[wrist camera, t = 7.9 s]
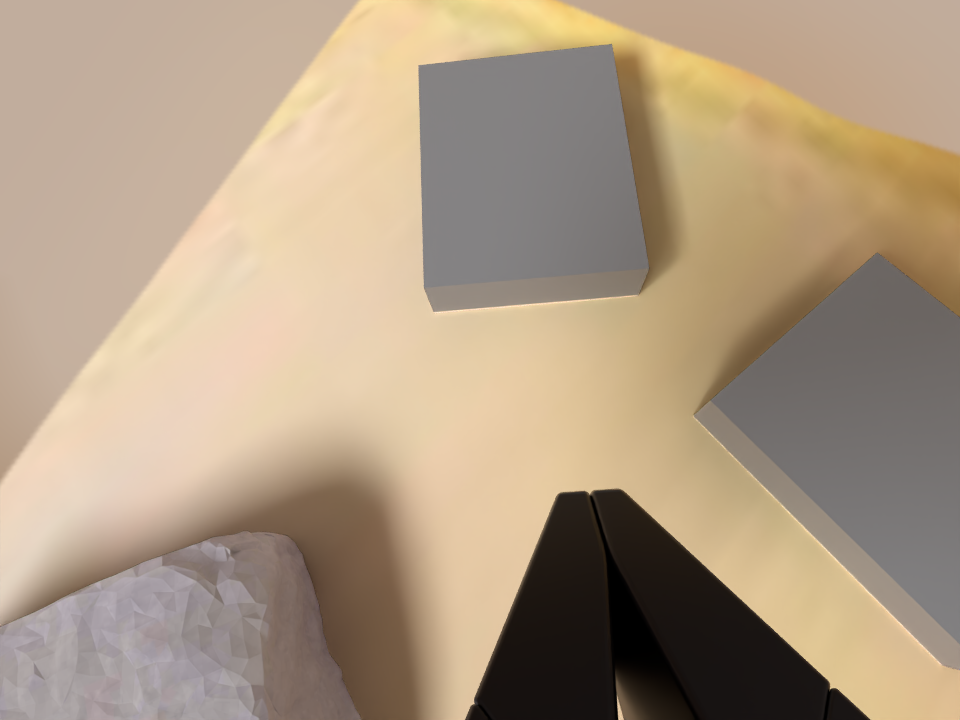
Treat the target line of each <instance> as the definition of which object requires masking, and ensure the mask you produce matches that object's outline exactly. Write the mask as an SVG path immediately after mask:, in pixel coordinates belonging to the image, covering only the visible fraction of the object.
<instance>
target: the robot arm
mask: <svg viewBox="0 0 960 720" xmlns="http://www.w3.org/2000/svg"><path fill="white" fill-rule="evenodd" d="M617 696H618V700H619V703H620V707H621V710H622V714H623V718H624V720H870V719H869V718H868V717H867V716H866V715H865V714H864V713H863V712H862V711H860V710H859V709H858V708H857V707H856V706H855V705H854V704H853V703H852V702H851V701H850V700H849V699H848V698H846V697H845V696H844V695H843V694H842V693H841V692H840V691H839V690H838V689H836V688H832V689H830V683H829V681H828V680H827V679H826V678H825V677H823V676H822V675H821V674H820V673H819V672H818V671H817V670H816V669H815V668H814V667H813V666H812V665H811V664H809V663H808V662H807V661H806V660H805V659H804V658H803V657H802V656H801V655H800V654H799V653H798V652H797V651H795V650H794V649H793V648H792V647H791V646H790V645H789V644H788V643H787V642H786V641H785V640H784V639H783V638H781V637H780V636H779V635H778V634H777V633H776V632H775V631H774V630H773V629H772V628H771V627H770V626H769V625H767V624H766V623H765V622H764V621H763V620H762V619H761V618H760V617H759V616H758V615H757V614H756V613H755V612H754V611H752V610H751V609H750V608H749V607H748V606H747V605H746V604H745V603H744V602H743V601H742V600H741V599H740V598H738V597H737V596H736V595H735V594H734V593H733V592H732V591H731V590H730V589H729V588H728V587H727V586H726V585H724V584H723V583H722V582H721V581H720V580H719V579H718V578H717V577H716V576H715V575H714V574H713V573H712V572H710V571H709V570H708V569H707V568H706V567H705V566H704V565H703V564H702V563H701V562H700V561H699V560H698V559H696V558H695V557H694V556H693V555H692V554H691V553H690V552H689V551H688V550H687V549H686V548H685V547H684V546H683V545H681V544H680V543H679V542H678V541H677V540H676V539H675V538H674V537H673V536H672V535H671V534H670V533H669V532H667V531H666V530H665V529H664V528H663V527H662V526H661V525H660V524H659V523H658V522H657V521H656V520H655V519H653V518H652V517H651V516H650V515H649V514H648V513H647V512H646V511H645V510H644V509H643V508H642V507H641V506H639V505H638V504H637V503H636V502H635V501H634V500H633V499H632V498H631V497H630V496H629V495H628V494H627V493H625V492H624V491H623V490H621V489H605V490H594V491H592V492H591V494H590V495H589V493H588V492H586V491H575V492H562V493H559V494H558V495H557V496H556V498H555V501H554V503H553V506H552V508H551V511H550V513H549V516H548V518H547V520H546V523H545V525H544V528H543V530H542V533H541V535H540V538H539V540H538V543H537V545H536V548H535V550H534V553H533V555H532V557H531V560H530V562H529V565H528V567H527V570H526V572H525V575H524V577H523V580H522V582H521V585H520V587H519V589H518V592H517V594H516V597H515V599H514V602H513V604H512V607H511V609H510V612H509V614H508V617H507V619H506V622H505V624H504V626H503V629H502V631H501V634H500V636H499V639H498V641H497V644H496V646H495V649H494V651H493V654H492V656H491V658H490V661H489V663H488V666H487V668H486V671H485V673H484V676H483V678H482V681H481V683H480V686H479V688H478V691H477V693H476V695H475V698H474V703H475V704H473V705H472V706H471V707H470V709H469V712H468V714H467V717H466V719H465V720H618V709H617Z"/></svg>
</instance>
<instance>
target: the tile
mask: <svg viewBox="0 0 960 720" xmlns="http://www.w3.org/2000/svg"><path fill="white" fill-rule="evenodd" d="M419 105H420V146H421V186H422V227H423V268H424V289H425V292H426V294H427V297H428V299H429V302H430V304H431V307H432V309H433V312H434V313H442V312H454V311H466V310H478V309H490V308H502V307H513V306H525V305H537V304H549V303H561V302H572V301H584V300H596V299H608V298H620V297H632V296H638V295H639V293H640V290H641V288H642V285H643V283H644V280H645V278H646V276H647V273H648V271H649V263H648V257H647V251H646V245H645V239H644V233H643V227H642V221H641V215H640V209H639V203H638V197H637V191H636V185H635V179H634V173H633V167H632V161H631V155H630V149H629V143H628V137H627V131H626V125H625V119H624V113H623V107H622V101H621V95H620V89H619V83H618V77H617V71H616V65H615V59H614V53H613V47H612V44H608V45H599V46H590V47H581V48H572V49H563V50H554V51H545V52H536V53H527V54H518V55H509V56H500V57H490V58H481V59H472V60H463V61H454V62H445V63H436V64H427V65H419Z"/></svg>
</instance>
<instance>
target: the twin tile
mask: <svg viewBox="0 0 960 720" xmlns="http://www.w3.org/2000/svg"><path fill="white" fill-rule="evenodd" d="M693 417H694V418H695V419H696V420H697V421H698V422H699V423H700V424H701V425H702V426H703V427H704V428H705V429H706V430H707V431H708V432H709V433H710V434H711V435H712V436H713V437H714V438H715V439H716V440H717V441H718V442H719V443H720V444H721V445H722V446H723V447H724V448H725V449H726V450H727V451H728V452H729V453H730V454H731V455H732V456H733V457H734V458H735V459H736V460H737V461H738V462H739V463H740V464H741V465H742V466H743V467H744V468H745V469H746V470H747V471H748V472H749V473H750V474H751V475H752V476H753V477H754V478H755V479H756V480H757V481H758V482H759V483H760V484H761V485H762V486H763V487H764V488H765V489H766V490H767V491H768V492H769V493H770V494H771V495H772V496H773V497H774V498H775V499H776V500H777V501H778V502H779V503H780V504H781V505H782V506H783V507H784V508H785V509H786V510H787V511H788V512H789V513H790V514H791V515H792V516H793V517H794V518H795V519H796V520H797V521H798V522H799V523H800V524H801V525H802V526H803V527H804V528H805V529H806V530H807V531H808V532H809V533H810V534H811V535H812V536H813V537H814V538H815V539H816V540H817V541H818V542H819V543H820V544H821V545H822V546H823V547H824V548H825V549H826V550H827V551H828V552H829V553H830V554H831V555H832V556H833V557H834V558H835V559H836V560H837V561H838V562H839V563H840V564H841V565H842V566H843V567H844V568H845V569H846V570H847V571H848V572H849V573H850V574H851V575H852V576H853V577H854V578H855V579H856V580H857V581H858V582H859V583H860V584H861V585H862V586H863V587H864V588H865V589H866V590H867V591H868V592H869V593H870V594H871V595H872V596H873V597H874V598H875V599H876V600H877V601H878V602H879V603H880V604H881V605H882V606H883V607H884V608H885V609H886V610H887V611H888V612H889V613H890V614H891V615H892V616H893V617H894V618H895V619H896V620H897V621H898V622H899V623H900V624H901V625H902V626H903V627H904V628H905V629H906V630H907V632H908V633H909V634H910V635H911V636H912V637H913V638H914V639H915V640H916V641H917V642H918V643H919V644H920V645H921V646H922V647H923V648H924V649H925V650H926V651H927V652H928V653H929V654H930V655H931V656H932V657H933V658H934V659H935V660H936V661H937V662H938V663H939V664H940V665H942V666H946V667H950V668H953V669H957V670H960V317H959V316H957V315H956V314H955V313H954V312H952V311H951V310H950V309H948V308H947V307H946V306H945V305H943V304H942V303H941V302H940V301H938V300H937V299H936V298H934V297H933V296H932V295H931V294H929V293H928V292H927V291H926V290H924V289H923V288H922V287H921V286H919V285H918V284H917V283H915V282H914V281H913V280H912V279H910V278H909V277H908V276H907V275H905V274H904V273H903V272H901V271H900V270H899V269H898V268H896V267H895V266H894V265H893V264H891V263H890V262H889V261H887V260H886V259H885V258H884V257H882V256H881V255H880V254H879V253H876V254H875V255H874V256H873V257H872V258H870V259H869V260H868V261H867V262H866V263H865V264H864V265H862V266H861V267H860V268H859V269H858V270H857V271H856V272H855V273H853V274H852V275H851V276H850V277H849V278H848V279H847V280H846V281H844V282H843V283H842V284H841V285H840V286H839V287H838V288H836V289H835V290H834V291H833V292H832V293H831V294H830V295H829V296H827V297H826V298H825V299H824V300H823V301H822V302H821V303H820V304H818V305H817V306H816V307H815V308H814V309H813V310H812V311H811V312H809V313H808V314H807V315H806V316H805V317H804V318H803V319H801V320H800V321H799V322H798V323H797V324H796V325H795V326H794V327H792V328H791V329H790V330H789V331H788V332H787V333H786V334H785V335H783V336H782V337H781V338H780V339H779V340H778V341H777V342H775V343H774V344H773V345H772V346H771V347H770V348H769V349H768V350H766V351H765V352H764V353H763V354H762V355H761V356H760V357H759V358H757V359H756V360H755V361H754V362H753V363H752V364H751V365H750V366H748V367H747V368H746V369H745V370H744V371H743V372H742V373H740V374H739V375H738V376H737V377H736V378H735V379H734V380H733V381H731V382H730V383H729V384H728V385H727V386H726V387H725V388H724V389H722V390H721V391H720V392H719V393H718V394H717V395H716V396H714V397H713V398H712V399H711V400H710V401H709V402H708V403H707V404H706V405H704V406H703V407H702V408H701V409H700V410H699V411H698V412H697V413H695V414H694V415H693Z"/></svg>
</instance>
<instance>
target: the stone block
mask: <svg viewBox="0 0 960 720" xmlns="http://www.w3.org/2000/svg"><path fill="white" fill-rule="evenodd" d="M0 720H361V717H360V714H359V713H358V712H357V710H356V708H355V706H354V703H353V701H352V699H351V697H350V695H349V693H348V691H347V689H346V686H345V683H344V681H343V679H342V670H341V669H340V667H339V666H338V665H337V663H336V662H335V661H334V659H333V658H332V657H331V655H330V654H329V652H328V648H327V644H326V639H325V636H324V633H323V623H322V617H321V614H320V606H319V603H318V600H317V597H316V594H315V590H314V587H313V583H312V581H311V578H310V575H309V572H308V570H307V568H306V565H305V563H304V558H303V554H302V553H301V552H300V550H299V549H298V547H297V545H296V543H295V542H294V541H293V540H292V539H291V538H289V537H288V536H287V535H281V534H276V533H271V532H254V533H250V532H249V531H242V532H239V533H237V534H234V535H226V536H218V537H212V538H210V539H207V540H205V541H203V542H200V543H197V544H194V545H191V546H189V547H186V548H183V549H180V550H177V551H173V552H170V553H168V554H165V555H162V556H159V557H156V558H154V559H151V560H148V561H145V562H143V563H140V564H138V565H136V566H134V567H132V568H130V569H127V570H125V571H123V572H121V573H118V574H116V575H114V576H111V577H108V578H106V579H103V580H101V581H98V582H96V583H93V584H91V585H88V586H86V587H84V588H82V589H80V590H78V591H75V592H73V593H71V594H69V595H67V596H65V597H63V598H61V599H59V600H57V601H56V602H54V603H52V604H50V605H48V606H46V607H44V608H42V609H40V610H38V611H36V612H34V613H31V614H29V615H27V616H24V617H22V618H19V619H17V620H15V621H12V622H10V623H8V624H5V625H3V626H0Z"/></svg>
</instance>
